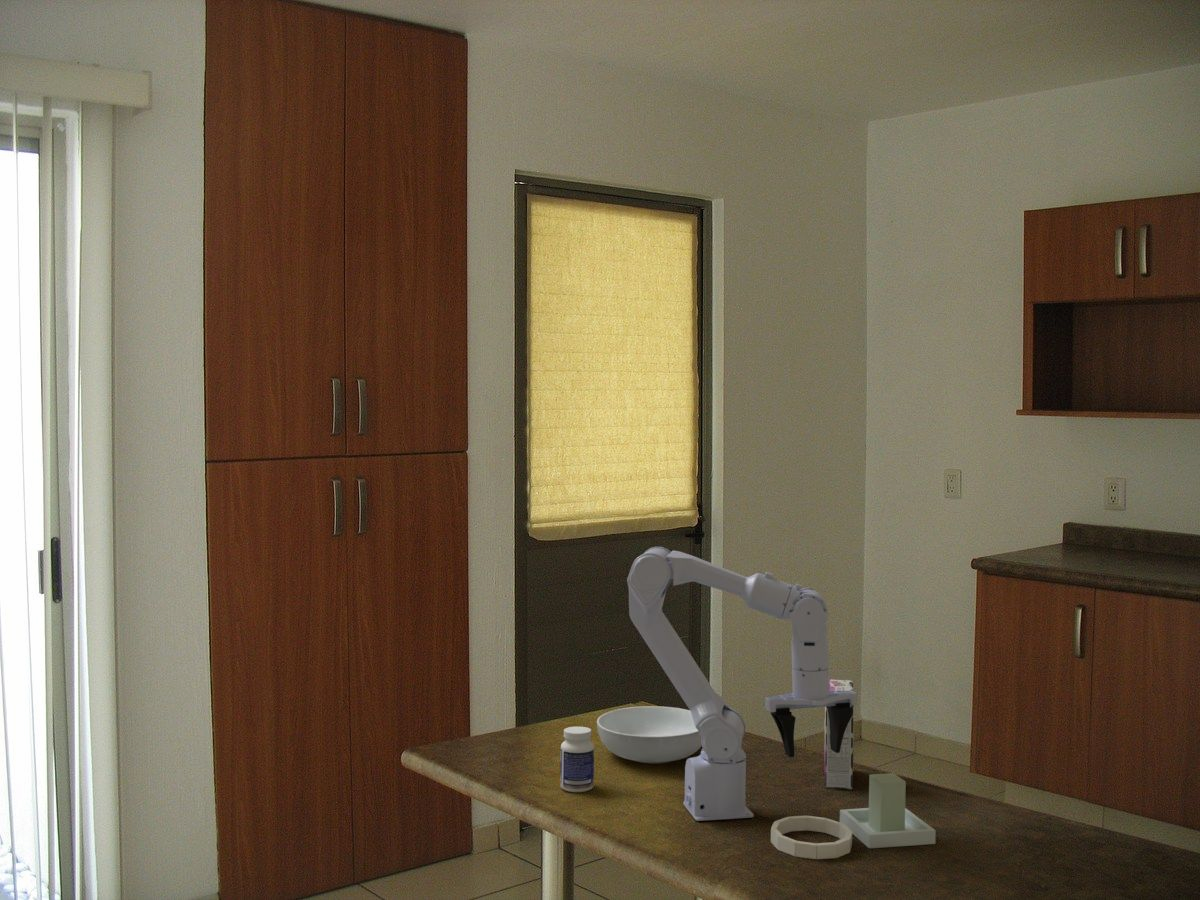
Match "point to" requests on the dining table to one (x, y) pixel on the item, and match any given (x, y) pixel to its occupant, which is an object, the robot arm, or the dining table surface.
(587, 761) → the pill bottle
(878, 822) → the peg
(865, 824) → the tray
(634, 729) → the serving bowl
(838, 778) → the candy bar box
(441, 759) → the dining table surface
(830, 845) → the collar
